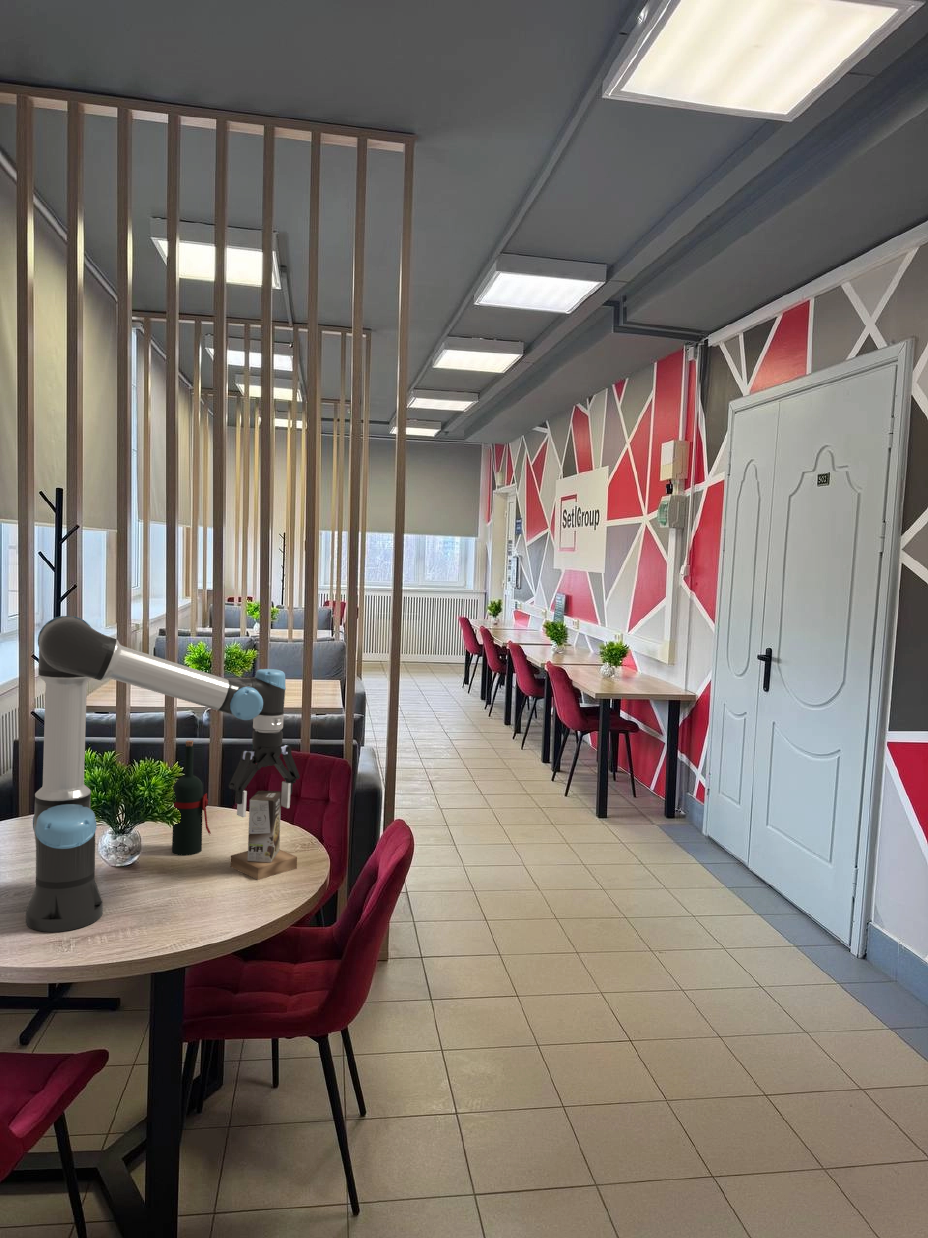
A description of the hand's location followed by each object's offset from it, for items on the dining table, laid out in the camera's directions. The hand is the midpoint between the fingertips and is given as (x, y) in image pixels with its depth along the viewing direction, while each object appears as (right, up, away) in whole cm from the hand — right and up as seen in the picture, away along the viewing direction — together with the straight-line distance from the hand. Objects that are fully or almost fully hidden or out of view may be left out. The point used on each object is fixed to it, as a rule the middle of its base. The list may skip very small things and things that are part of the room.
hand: (263, 811), depth 216 cm
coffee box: (0, -12, +1) cm, 12 cm away
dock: (0, -15, +1) cm, 15 cm away
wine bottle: (-22, -13, +11) cm, 28 cm away
